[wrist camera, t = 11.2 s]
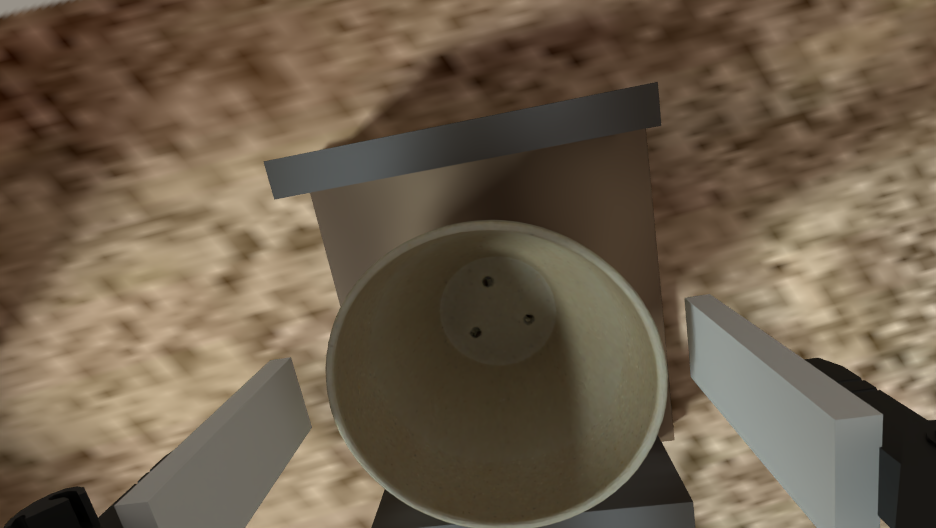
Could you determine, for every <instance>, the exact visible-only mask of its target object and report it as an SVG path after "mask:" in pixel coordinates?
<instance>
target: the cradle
mask: <svg viewBox="0 0 936 528" xmlns="http://www.w3.org/2000/svg"><path fill="white" fill-rule="evenodd" d="M656 126H661V116H660V104H659V92H658V82H655V83H650V84H645V85H640V86H635V87H630V88H625V89H620V90H615V91H610V92H605V93H600V94H595V95H591V96H586V97H581V98H576V99H571V100H566V101H561V102H556V103H551V104H546V105H541V106H536V107H531V108H526V109H521V110H516V111H511V112H506V113H502V114H497V115H492V116H487V117H482V118H477V119H472V120H467V121H462V122H457V123H452V124H447V125H442V126H437V127H432V128H427V129H422V130H417V131H412V132H408V133H403V134H398V135H393V136H388V137H383V138H378V139H373V140H368V141H363V142H358V143H353V144H348V145H343V146H338V147H333V148H328V149H323V150H319V151H314V152H309V153H304V154H299V155H294V156H289V157H284V158H279V159H274V160H269V161H264V165H265V168H266V172H267V175H268V179H269V182H270V186H271V189H272V193H273V196H274V199H279V198H284V197H290V196H295V195H300V194H305V193H310V194H311V198H312V202H313V205H314V209H315V213H316V217H317V220H318V224H319V228H320V232H321V235H322V239H323V243H324V246H325V250H326V254H327V258H328V261H329V265H330V269H331V273H332V276H333V280H334V284H335V288H336V291H337V295H338V299H339V303H340V306H342V304H343V302H344V300H345V298H346V297H347V295H348V293H349V292H350V291H351V289H352V288H353V286H354V285H355V284H356V283H357V281H358V280H359V279H360V278H361V276H362V275H363V274H364V273H365V272H366V271H367V270H368V269H369V268H370V267H371V266H372V265H373V264H374V263H376V262H377V261H378V260H379V259H380V258H382V257H383V256H384V255H385V254H387V253H388V252H390V251H391V250H393V249H394V248H396V247H398V246H399V245H401V244H403V243H405V242H406V241H408V240H410V239H412V238H415V237H417V236H419V235H422V234H424V233H427V232H429V231H432V230H435V229H438V228H441V227H444V226H448V225H452V224H457V223H463V222H469V221H479V220H506V221H515V222H521V223H526V224H531V225H535V226H539V227H543V228H545V229H548V230H551V231H554V232H557V233H559V234H561V235H564V236H566V237H568V238H570V239H572V240H574V241H576V242H578V243H580V244H582V245H583V246H585V247H587V248H588V249H590V250H591V251H592V252H594V253H595V254H597V255H598V256H599V257H601V258H602V259H604V260H605V261H606V262H607V263H608V264H610V265H611V266H612V267H613V268H614V269H615V270H617V271H618V272H619V273H620V274H621V275H622V276H623V277H624V278H625V279H626V280H627V282H628V283H629V284H630V285H631V286H632V287H633V288H634V290H635V291H636V292H637V293H638V295H639V296H640V298H641V299H642V301H643V302H644V304H645V306H646V307H647V309H648V310H649V312H650V314H651V316H652V318H653V320H654V322H655V324H656V327H657V329H658V332H659V335H660V338H661V341H662V344H663V348H664V352H665V357H666V363H667V354H666V343H665V332H664V321H663V310H662V299H661V289H660V278H659V267H658V256H657V245H656V234H655V224H654V213H653V202H652V191H651V180H650V169H649V159H648V148H647V137H646V128H651V127H656ZM483 284H484V285H485V286H488V282H487V280H486V279H484V280H483ZM526 316H527V317H529V318H530V317H533V316H532V315H526ZM480 333H481V331H478V332H477V333H476V337H477V336H479V335H480ZM667 372H668V364H667ZM672 440H674V430H673V419H672V408H671V397H670V386H669V375H668V385H667V401H666V409H665V413H664V417H663V420H662V423H661V426H660V429H659V432H658V435H657V437H656V440H655V442H654V444H653V446H652V448H651V449H650V451H649V453H648V455H647V457H646V458H645V459H644V461H643V462H642V464H641V465H640V466H639V468H638V469H637V470H636V472H635V473H634V474H633V475H632V476H631V477H630V479H629V480H628V481H627V482H626V483H624V484H623V485H622V486H621V487H620V488H619V489H618V490H617V491H615V492H614V493H613V494H612V495H610V496H609V497H608V498H606V499H605V500H604V501H602V502H601V503H599V504H597V505H596V506H594V507H592V508H590V509H588V510H586V511H584V512H582V513H580V514H578V515H576V516H573V517H571V518H569V519H566V520H563V521H561V522H556V523H553V524H550V525H546V526H542V527H536V528H695V519H694V507H693V501H692V499H691V497H690V495H689V493H688V491H687V489H686V488H685V486H684V484H683V482H682V480H681V478H680V476H679V474H678V472H677V470H676V469H675V467H674V465H673V463H672V461H671V459H670V457H669V455H668V453H667V452H666V450H665V448H664V446H663V444H662V442H663V441H672ZM372 528H471V527H465V526H460V525H456V524H452V523H448V522H445V521H442V520H440V519H437V518H434V517H432V516H430V515H427V514H425V513H423V512H420V511H418V510H416V509H414V508H412V507H411V506H409V505H407V504H406V503H404V502H402V501H401V500H399V499H397V498H396V497H395V496H394V495H392V494H391V493H389V492H388V491H387V490H386V489H385V490H384V493H383V496H382V499H381V502H380V505H379V508H378V510H377V513H376V516H375V519H374V522H373V525H372Z"/></svg>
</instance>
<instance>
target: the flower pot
mask: <svg viewBox="0 0 936 528" xmlns="http://www.w3.org/2000/svg"><path fill="white" fill-rule="evenodd" d="M484 279H486V280H487V282H488V286H485V285H484V284H483V280H484ZM526 315H532V316H533V317H530V318H529V317H527V316H526ZM478 331H481V333H480V335H479V336H477V337H476V333H477V332H478ZM326 383H327V392H328V398H329V403H330V408H331V411H332V414H333V417H334V420H335V423H336V425H337V427H338V430H339V432H340V434H341V436H342V438H343V440H344V441H345V443H346V445H347V447H348V448H349V450H350V451H351V452H352V454H353V456H354V457H355V459H356V460H357V461H358V462H359V463H360V464H361V466H362V467H363V468H364V469H365V470H366V471H367V472H368V473H369V475H370V476H371V477H372V478H373V479H374V480H375V481H376V482H378V483H379V484H380V485H381V486H382V487H383V488H384V489H386V490H387V491H388V492H389V493H391V494H392V495H394V496H395V497H396V498H397V499H399V500H401V501H402V502H404V503H406V504H407V505H409V506H411V507H412V508H414V509H416V510H418V511H420V512H423V513H425V514H427V515H430V516H432V517H434V518H437V519H440V520H442V521H445V522H448V523H452V524H456V525H460V526H465V527H471V528H536V527H542V526H546V525H550V524H553V523H556V522H561V521H563V520H566V519H569V518H571V517H573V516H576V515H578V514H580V513H582V512H584V511H586V510H588V509H590V508H592V507H594V506H596V505H597V504H599V503H601V502H602V501H604V500H605V499H606V498H608V497H609V496H610V495H612V494H613V493H614V492H615V491H617V490H618V489H619V488H620V487H621V486H622V485H623V484H624V483H626V482H627V481H628V480H629V479H630V477H631V476H632V475H633V474H634V473H635V472H636V470H637V469H638V468H639V466H640V465H641V464H642V462H643V461H644V459H645V458H646V457H647V455H648V453H649V451H650V449H651V448H652V446H653V444H654V442H655V440H656V437H657V435H658V432H659V429H660V426H661V423H662V420H663V417H664V413H665V409H666V401H667V385H668V372H667V363H666V357H665V352H664V348H663V344H662V341H661V338H660V335H659V332H658V329H657V327H656V324H655V322H654V320H653V318H652V316H651V314H650V312H649V310H648V309H647V307H646V306H645V304H644V302H643V301H642V299H641V298H640V296H639V295H638V293H637V292H636V291H635V290H634V288H633V287H632V286H631V285H630V284H629V283H628V282H627V280H626V279H625V278H624V277H623V276H622V275H621V274H620V273H619V272H618V271H617V270H615V269H614V268H613V267H612V266H611V265H610V264H608V263H607V262H606V261H605V260H604V259H602V258H601V257H599V256H598V255H597V254H595V253H594V252H592V251H591V250H590V249H588V248H587V247H585V246H583V245H582V244H580V243H578V242H576V241H574V240H572V239H570V238H568V237H566V236H564V235H561V234H559V233H557V232H554V231H551V230H548V229H545V228H543V227H539V226H535V225H531V224H526V223H521V222H515V221H506V220H479V221H469V222H463V223H457V224H452V225H448V226H444V227H441V228H438V229H435V230H432V231H429V232H427V233H424V234H422V235H419V236H417V237H415V238H412V239H410V240H408V241H406V242H405V243H403V244H401V245H399V246H398V247H396V248H394V249H393V250H391V251H390V252H388V253H387V254H385V255H384V256H383V257H382V258H380V259H379V260H378V261H377V262H376V263H374V264H373V265H372V266H371V267H370V268H369V269H368V270H367V271H366V272H365V273H364V274H363V275H362V276H361V278H360V279H359V280H358V281H357V283H356V284H355V285H354V286H353V288H352V289H351V291H350V292H349V293H348V295H347V297H346V298H345V300H344V302H343V304H342V306H341V308H340V309H339V312H338V314H337V316H336V319H335V321H334V324H333V327H332V331H331V334H330V339H329V342H328V350H327V356H326Z"/></svg>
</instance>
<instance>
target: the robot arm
mask: <svg viewBox="0 0 936 528" xmlns="http://www.w3.org/2000/svg"><path fill="white" fill-rule="evenodd" d="M685 310H686V322H687V335H688V347H689V359H690V372H691V378H692V379H693V380H694V381H695V383H696V384H697V385H698V386H699V387H700V389H701V390H702V391H703V392H704V393H705V395H706V396H707V397H708V398H709V399H710V401H711V402H712V403H713V404H714V405H715V407H716V408H717V409H718V410H719V411H720V412H721V414H722V415H723V416H724V417H725V418H726V420H727V421H728V422H729V423H730V424H731V426H732V427H733V428H734V429H735V430H736V432H737V433H738V434H739V435H740V436H741V438H742V439H743V440H744V441H745V442H746V444H747V445H748V446H749V447H750V448H751V450H752V451H753V452H754V453H755V454H756V456H757V457H758V458H759V459H760V460H761V462H762V463H763V464H764V465H765V466H766V468H767V469H768V470H769V471H770V472H771V473H772V475H773V476H774V477H775V478H776V479H777V481H778V482H779V483H780V484H781V485H782V487H783V488H784V489H785V490H786V491H787V493H788V494H789V495H790V496H791V497H792V499H793V500H794V501H795V502H796V503H797V505H798V506H799V507H800V508H801V509H802V511H803V512H804V513H805V514H806V515H807V517H808V518H809V519H810V520H811V521H812V523H813V524H814V525H815V526H816V527H817V528H880V518H881V519H882V520H883V521H884V522H885V523H886V524H887V525H888V526H889V527H890V528H936V420H926V419H925V418H923V417H922V416H920V415H918V414H917V413H915V412H914V411H912V410H911V409H909V408H907V407H906V406H904V405H903V404H901V403H900V402H898V401H896V400H895V399H893V398H892V397H890V396H889V395H887V394H885V393H884V392H882V391H881V390H877V389H876V387H874V386H873V385H871V384H870V383H868V382H867V381H865V380H863V381H862V380H861V378H860V377H859V376H857V375H856V374H854V373H852V372H851V371H849V370H848V369H846V368H845V367H843V366H840V365H838V364H835V363H832V362H829V361H826V360H823V359H821V358H812V359H802V358H801V357H800V356H798V355H797V354H795V353H794V352H792V351H791V350H790V349H788V348H787V347H785V346H784V345H782V344H781V343H779V342H778V341H777V340H775V339H774V338H772V337H771V336H769V335H768V334H767V333H765V332H764V331H762V330H761V329H759V328H758V327H756V326H755V325H754V324H752V323H751V322H749V321H748V320H746V319H745V318H744V317H742V316H741V315H739V314H738V313H736V312H735V311H733V310H732V309H731V308H729V307H728V306H726V305H725V304H723V303H722V302H721V301H719V300H718V299H716V298H715V297H713V296H712V295H710V294H708V295H701V296H694V297H688V298H685ZM311 428H312V426H311V422H310V419H309V416H308V413H307V409H306V406H305V403H304V399H303V396H302V393H301V389H300V386H299V383H298V379H297V376H296V373H295V369H294V366H293V363H292V360H291V357H290V358H283V359H276V360H270V361H269V362H268V363H267V364H266V365H265V366H264V367H262V368H261V369H260V370H259V371H258V372H257V373H256V374H255V375H254V376H253V377H252V378H251V379H250V380H249V381H247V382H246V383H245V384H244V385H243V386H242V387H241V388H240V389H239V390H238V391H237V392H236V393H235V394H233V395H232V396H231V397H230V398H229V399H228V400H227V401H226V402H225V403H224V404H223V405H222V406H221V407H220V408H218V409H217V410H216V411H215V412H214V413H213V414H212V415H211V416H210V417H209V418H208V419H207V420H206V421H204V422H203V423H202V424H201V425H200V426H199V427H198V428H197V429H196V430H195V431H194V432H193V433H192V434H191V435H189V436H188V437H187V438H186V439H185V440H184V441H183V442H182V443H181V444H180V445H179V446H178V447H177V448H175V449H174V450H173V451H172V452H170V453H169V454H167V455H166V456H165V457H163V458H162V459H161V460H160V461H159V462H158V463H157V464H156V465H155V466H154V467H153V468H152V469H150V472H148V473H146V474H145V475H144V476H143V477H142V478H141V479H140V480H139V481H138V484H134V485H133V486H132V487H131V488H130V489H129V490H128V491H127V492H126V493H124V494H123V495H122V496H121V497H120V498H119V499H118V500H117V501H116V502H115V503H114V504H113V505H112V506H110V507H109V508H108V509H107V510H106V511H105V512H104V513H103V514H102V515H101V516H100V517H99V518H98V517H97V515H96V513H95V511H94V508H93V506H92V504H91V502H90V499H89V497H88V495H87V493H86V490H85V488H84V487H78V486H76V487H71V488H66V489H63V490H60V491H57V492H55V493H52V494H50V495H48V496H46V497H44V498H42V499H40V500H38V501H36V502H34V503H32V504H31V505H29V506H28V507H26V508H24V509H23V510H21V511H20V512H19V513H17V514H16V515H15V516H14V517H13V518H11V519H10V520H9V521H8V522H7V524H6V525H5V526H4V528H245V527H246V525H247V524H248V522H249V521H250V519H251V518H252V516H253V515H254V513H255V512H256V510H257V509H258V507H259V506H260V504H261V503H262V501H263V500H264V498H265V497H266V495H267V494H268V492H269V491H270V489H271V488H272V486H273V485H274V483H275V482H276V480H277V479H278V477H279V476H280V474H281V473H282V471H283V470H284V468H285V467H286V465H287V464H288V462H289V461H290V459H291V458H292V456H293V455H294V453H295V452H296V450H297V449H298V447H299V446H300V444H301V443H302V441H303V440H304V438H305V437H306V435H307V434H308V432H309V431H310V430H311Z"/></svg>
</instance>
